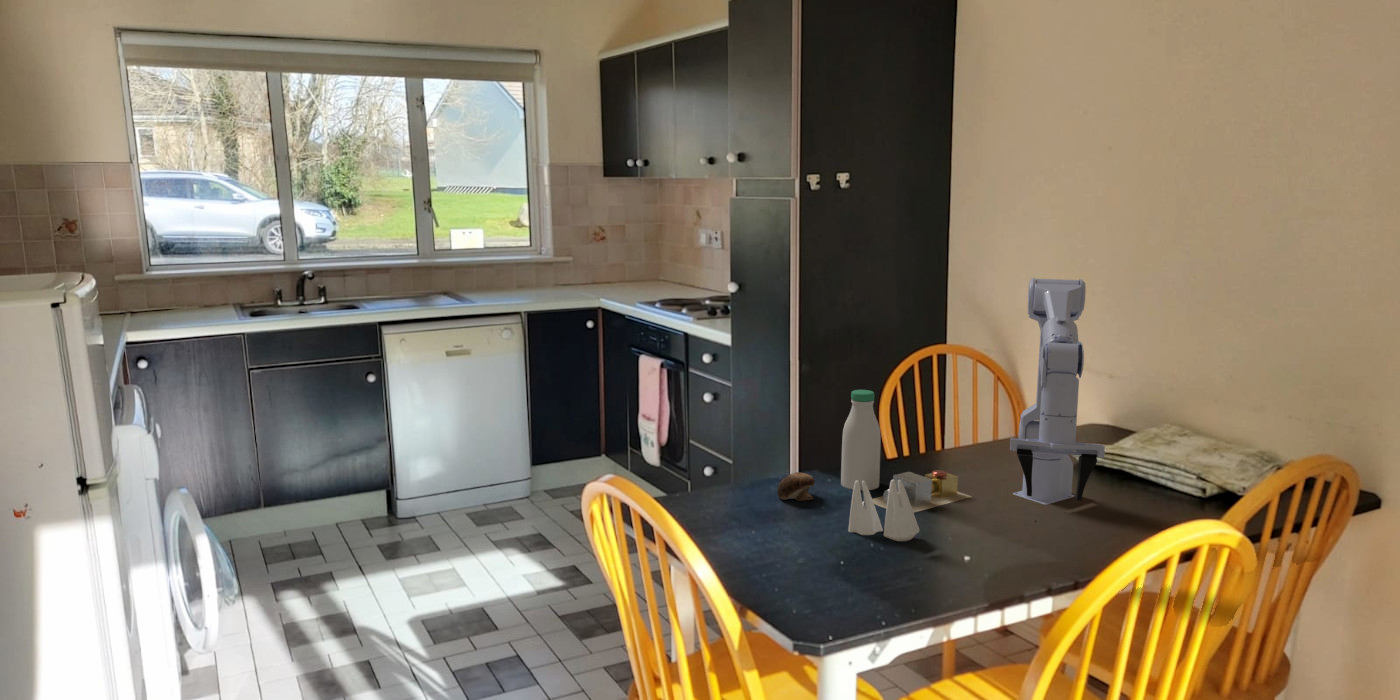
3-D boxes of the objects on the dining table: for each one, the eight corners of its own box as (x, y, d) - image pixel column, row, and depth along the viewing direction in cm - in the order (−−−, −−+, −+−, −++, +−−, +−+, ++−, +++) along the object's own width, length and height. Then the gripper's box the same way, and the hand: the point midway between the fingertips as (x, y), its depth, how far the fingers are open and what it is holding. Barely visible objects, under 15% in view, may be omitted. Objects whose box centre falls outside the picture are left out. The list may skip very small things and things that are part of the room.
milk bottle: (881, 493, 196) (885, 396, 192) (843, 493, 196) (846, 395, 193) (875, 481, 204) (879, 387, 200) (838, 481, 204) (841, 387, 200)
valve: (939, 487, 198) (940, 467, 197) (957, 494, 194) (958, 472, 193) (913, 494, 193) (914, 473, 193) (930, 501, 190) (931, 479, 189)
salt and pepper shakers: (920, 540, 171) (922, 480, 169) (912, 548, 168) (914, 486, 166) (855, 528, 177) (857, 469, 175) (846, 535, 174) (848, 475, 172)
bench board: (933, 486, 201) (933, 483, 200) (972, 499, 192) (972, 496, 192) (865, 503, 190) (865, 500, 190) (903, 518, 182) (903, 515, 182)
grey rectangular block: (908, 494, 194) (909, 471, 193) (930, 502, 189) (931, 479, 188) (877, 502, 189) (878, 478, 188) (900, 511, 184) (900, 487, 183)
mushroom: (828, 490, 188) (811, 461, 189) (793, 510, 186) (776, 481, 187) (817, 497, 196) (801, 469, 197) (784, 516, 193) (768, 488, 195)
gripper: (1012, 413, 160) (1008, 496, 160) (1108, 420, 155) (1103, 505, 156) (1011, 411, 166) (1007, 490, 167) (1103, 417, 162) (1098, 498, 163)
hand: (1053, 497), depth 162 cm, fingers open, 7 cm apart
